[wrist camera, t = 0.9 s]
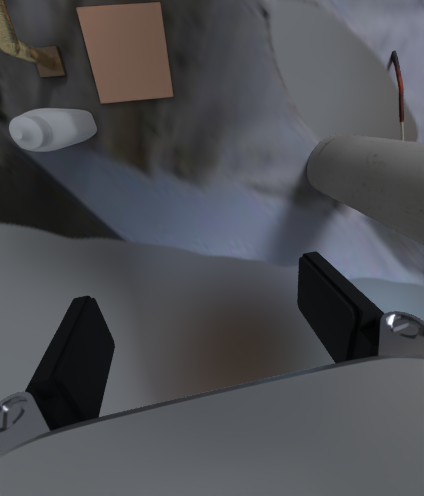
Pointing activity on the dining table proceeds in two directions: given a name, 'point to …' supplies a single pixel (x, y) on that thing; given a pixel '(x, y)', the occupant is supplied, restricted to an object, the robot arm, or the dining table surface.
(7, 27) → the bent handrail
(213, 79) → the dining table surface
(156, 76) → the terracotta tile
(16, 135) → the eye dropper bottle
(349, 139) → the thermos bottle
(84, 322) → the robot arm
